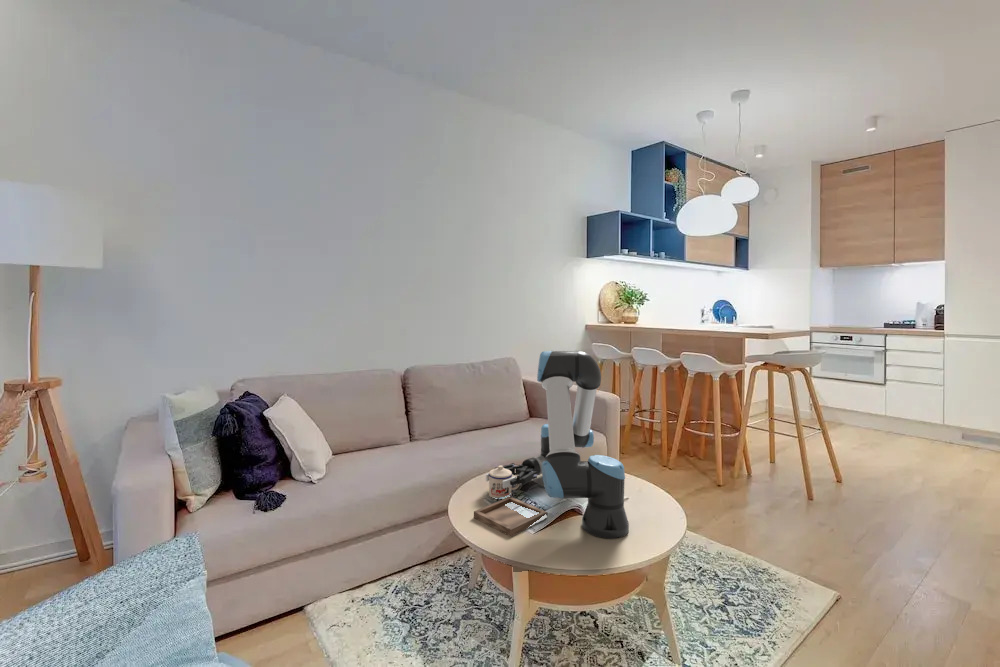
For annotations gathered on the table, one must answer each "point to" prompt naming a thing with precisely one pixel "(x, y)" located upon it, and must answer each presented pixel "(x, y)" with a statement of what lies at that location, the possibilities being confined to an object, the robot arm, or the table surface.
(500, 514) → the tray
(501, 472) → the teacup with lid
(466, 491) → the table surface
